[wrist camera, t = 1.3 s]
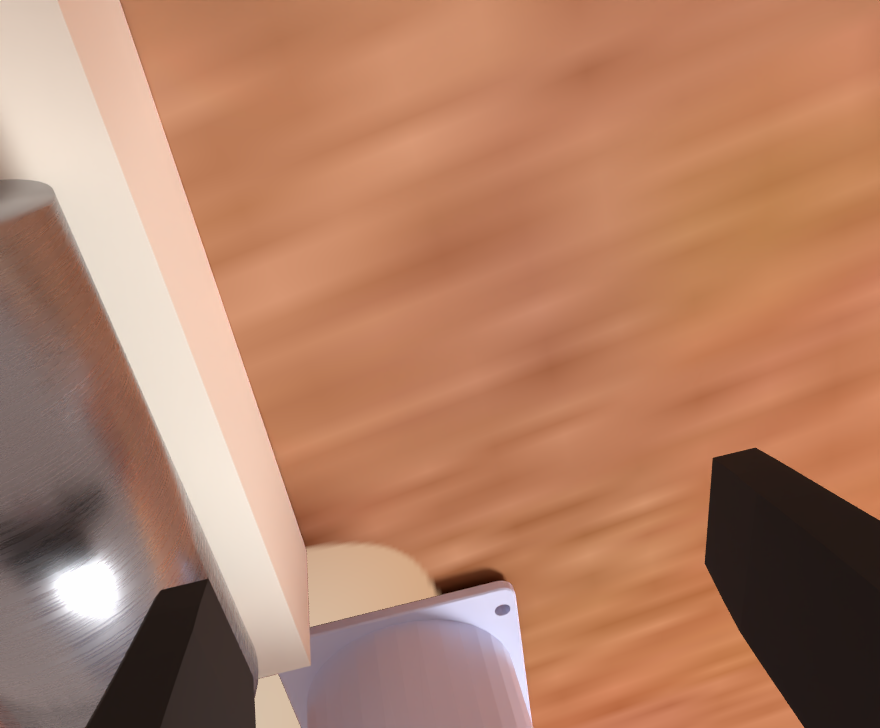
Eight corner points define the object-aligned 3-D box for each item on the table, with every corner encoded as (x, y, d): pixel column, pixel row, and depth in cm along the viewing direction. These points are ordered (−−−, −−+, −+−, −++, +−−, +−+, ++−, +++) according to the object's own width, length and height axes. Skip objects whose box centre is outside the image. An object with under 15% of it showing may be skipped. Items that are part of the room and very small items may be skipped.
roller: (165, 582, 17) (304, 659, 15) (-17, 746, 14) (120, 875, 12) (-43, 172, 12) (121, 189, 10) (-402, 294, 9) (-292, 366, 7)
